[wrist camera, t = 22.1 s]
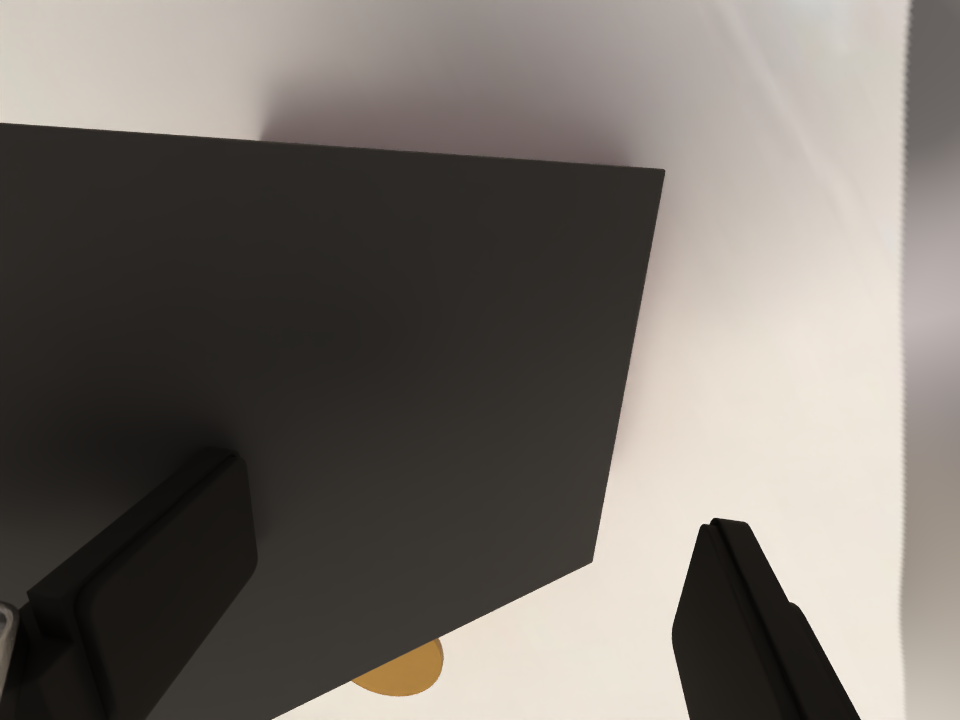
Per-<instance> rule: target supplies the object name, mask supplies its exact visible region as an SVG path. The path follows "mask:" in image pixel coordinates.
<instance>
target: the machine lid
mask: <svg viewBox="0 0 960 720" xmlns="http://www.w3.org/2000/svg"><path fill="white" fill-rule="evenodd" d="M664 177H665V170H664V169H657V168H643V167H629V166H614V165H600V164H586V163H571V162H557V161H542V160H528V159H514V158H499V157H485V156H471V155H456V154H442V153H428V152H413V151H399V150H384V149H370V148H356V147H341V146H327V145H313V144H298V143H284V142H270V141H255V140H241V139H226V138H212V137H198V136H183V135H169V134H155V133H140V132H126V131H112V130H97V129H83V128H68V127H54V126H40V125H25V124H11V123H0V601H4V602H7V603H10V604H13V605H14V606H15V607H16V608H17V609H18V610H19V609H20V608H21V607H22V606H23V605H25V604H26V603H27V602H28V601H29V599H28V596H27V593H26V592H27V591H28V590H29V589H31V588H32V587H33V586H34V585H36V584H37V583H38V582H39V581H41V580H42V579H43V578H44V577H46V576H47V575H48V574H49V573H50V572H52V571H53V570H54V569H55V568H57V567H58V566H59V565H60V564H62V563H63V562H64V561H65V560H67V559H68V558H69V557H70V556H72V555H73V554H74V553H75V552H77V551H78V550H79V549H80V548H81V547H83V546H84V545H85V544H86V543H88V542H89V541H90V540H91V539H93V538H94V537H95V536H96V535H98V534H99V533H100V532H101V531H103V530H104V529H105V528H106V527H108V526H109V525H110V524H111V523H112V522H114V521H115V520H116V519H117V518H119V517H120V516H121V515H122V514H124V513H125V512H126V511H127V510H129V509H130V508H131V507H132V506H134V505H135V504H136V503H137V502H139V501H140V500H141V499H142V498H143V497H145V496H146V495H147V494H148V493H150V492H151V491H152V490H153V489H155V488H156V487H157V486H158V485H160V484H161V483H162V482H163V481H165V480H166V479H167V478H168V477H170V476H171V475H172V474H173V473H174V472H176V471H177V470H178V469H179V468H181V467H182V466H183V465H184V464H186V463H187V462H188V461H189V460H191V459H192V458H193V457H194V456H196V455H197V454H198V453H199V452H201V451H202V450H203V449H205V448H207V447H216V448H223V449H230V450H235V451H237V452H238V453H239V455H240V458H243V459H244V460H245V461H246V465H247V473H248V481H249V489H250V497H251V505H252V513H253V521H254V529H255V537H256V545H257V553H258V562H257V566H256V569H255V571H254V573H253V575H252V577H251V578H250V579H249V581H248V582H247V583H246V585H245V586H244V587H243V589H242V590H241V591H240V593H239V594H238V595H237V597H236V598H235V599H234V601H233V602H232V604H231V605H230V606H229V608H228V609H227V610H226V612H225V613H224V614H223V616H222V617H221V618H220V620H219V621H218V622H217V624H216V625H215V626H214V628H213V629H212V630H211V632H210V633H209V634H208V636H207V637H206V639H205V640H204V641H203V643H202V644H201V645H200V647H199V648H198V649H197V651H196V652H195V653H194V655H193V656H192V657H191V659H190V660H189V661H188V663H187V664H186V665H185V667H184V668H183V669H182V671H181V672H180V673H179V675H178V676H177V678H176V679H175V680H174V682H173V683H172V684H171V686H170V687H169V688H168V690H167V691H166V692H165V694H164V695H163V696H162V698H161V699H160V700H159V702H158V703H157V704H156V706H155V707H154V708H153V710H152V711H151V713H150V714H149V715H148V717H147V718H146V719H145V720H272V719H274V718H276V717H278V716H280V715H282V714H284V713H286V712H288V711H290V710H292V709H294V708H296V707H298V706H300V705H302V704H304V703H306V702H308V701H310V700H312V699H315V698H317V697H319V696H321V695H323V694H325V693H327V692H329V691H331V690H333V689H335V688H337V687H339V686H341V685H343V684H345V683H347V682H349V681H351V680H353V679H355V678H357V677H359V676H361V675H363V674H366V673H368V672H370V671H372V670H374V669H376V668H378V667H380V666H382V665H384V664H386V663H388V662H390V661H392V660H394V659H396V658H398V657H400V656H402V655H404V654H406V653H408V652H410V651H412V650H414V649H416V648H419V647H421V646H423V645H425V644H427V643H429V642H431V641H433V640H435V639H437V638H439V637H441V636H443V635H445V634H447V633H449V632H451V631H453V630H455V629H457V628H459V627H461V626H463V625H465V624H467V623H470V622H472V621H474V620H476V619H478V618H480V617H482V616H484V615H486V614H488V613H490V612H492V611H494V610H496V609H498V608H500V607H502V606H504V605H506V604H508V603H510V602H512V601H514V600H516V599H518V598H520V597H523V596H525V595H527V594H529V593H531V592H533V591H535V590H537V589H539V588H541V587H543V586H545V585H547V584H549V583H551V582H553V581H555V580H557V579H559V578H561V577H563V576H565V575H567V574H569V573H571V572H574V571H576V570H578V569H580V568H582V567H584V566H586V565H588V564H590V563H592V561H593V556H594V551H595V546H596V540H597V535H598V530H599V524H600V519H601V514H602V508H603V503H604V497H605V492H606V487H607V481H608V476H609V471H610V465H611V460H612V455H613V449H614V444H615V439H616V433H617V428H618V423H619V417H620V412H621V407H622V401H623V396H624V391H625V385H626V380H627V374H628V369H629V364H630V358H631V353H632V348H633V342H634V337H635V332H636V326H637V321H638V316H639V310H640V305H641V300H642V294H643V289H644V284H645V278H646V273H647V267H648V262H649V257H650V251H651V246H652V241H653V235H654V230H655V225H656V219H657V214H658V209H659V203H660V198H661V193H662V187H663V182H664Z"/></svg>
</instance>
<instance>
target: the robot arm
mask: <svg viewBox="0 0 960 720" xmlns="http://www.w3.org/2000/svg"><path fill="white" fill-rule="evenodd" d="M257 562H258V553H257V545H256V537H255V529H254V521H253V513H252V505H251V497H250V489H249V481H248V473H247V465H246V461H245V460H244V459H243V458H240V455H239V453H238V452H237V451H235V450H230V449H223V448H216V447H207V448H205V449H203V450H202V451H201V452H199V453H198V454H197V455H196V456H194V457H193V458H192V459H191V460H189V461H188V462H187V463H186V464H184V465H183V466H182V467H181V468H179V469H178V470H177V471H176V472H174V473H173V474H172V475H171V476H170V477H168V478H167V479H166V480H165V481H163V482H162V483H161V484H160V485H158V486H157V487H156V488H155V489H153V490H152V491H151V492H150V493H148V494H147V495H146V496H145V497H143V498H142V499H141V500H140V501H139V502H137V503H136V504H135V505H134V506H132V507H131V508H130V509H129V510H127V511H126V512H125V513H124V514H122V515H121V516H120V517H119V518H117V519H116V520H115V521H114V522H112V523H111V524H110V525H109V526H108V527H106V528H105V529H104V530H103V531H101V532H100V533H99V534H98V535H96V536H95V537H94V538H93V539H91V540H90V541H89V542H88V543H86V544H85V545H84V546H83V547H81V548H80V549H79V550H78V551H77V552H75V553H74V554H73V555H72V556H70V557H69V558H68V559H67V560H65V561H64V562H63V563H62V564H60V565H59V566H58V567H57V568H55V569H54V570H53V571H52V572H50V573H49V574H48V575H47V576H46V577H44V578H43V579H42V580H41V581H39V582H38V583H37V584H36V585H34V586H33V587H32V588H31V589H29V590H28V591H27V592H26V593H27V596H28V599H29V601H28V602H27V603H26V604H25V605H23V606H22V607H21V608H20V609H19V610H18V609H17V608H16V607H15V606H14V605H13V604H10V603H7V602H4V601H0V720H145V719H146V718H147V717H148V715H149V714H150V713H151V711H152V710H153V708H154V707H155V706H156V704H157V703H158V702H159V700H160V699H161V698H162V696H163V695H164V694H165V692H166V691H167V690H168V688H169V687H170V686H171V684H172V683H173V682H174V680H175V679H176V678H177V676H178V675H179V673H180V672H181V671H182V669H183V668H184V667H185V665H186V664H187V663H188V661H189V660H190V659H191V657H192V656H193V655H194V653H195V652H196V651H197V649H198V648H199V647H200V645H201V644H202V643H203V641H204V640H205V639H206V637H207V636H208V634H209V633H210V632H211V630H212V629H213V628H214V626H215V625H216V624H217V622H218V621H219V620H220V618H221V617H222V616H223V614H224V613H225V612H226V610H227V609H228V608H229V606H230V605H231V604H232V602H233V601H234V599H235V598H236V597H237V595H238V594H239V593H240V591H241V590H242V589H243V587H244V586H245V585H246V583H247V582H248V581H249V579H250V578H251V577H252V575H253V573H254V571H255V569H256V566H257ZM672 644H673V650H674V654H675V658H676V662H677V667H678V671H679V675H680V680H681V684H682V688H683V692H684V697H685V701H686V705H687V710H688V714H689V718H690V720H861V719H860V717H859V715H858V714H857V712H856V710H855V708H854V706H853V704H852V702H851V701H850V699H849V697H848V695H847V693H846V691H845V689H844V688H843V686H842V684H841V682H840V680H839V678H838V676H837V675H836V673H835V671H834V669H833V667H832V665H831V664H830V662H829V660H828V658H827V656H826V654H825V652H824V651H823V649H822V647H821V645H820V643H819V641H818V639H817V638H816V636H815V634H814V632H813V630H812V628H811V626H810V625H809V623H808V621H807V619H806V617H805V615H804V614H803V612H802V611H801V610H800V608H799V607H798V606H797V605H795V604H794V603H791V602H789V601H788V599H787V597H786V595H785V593H784V591H783V589H782V587H781V585H780V583H779V582H778V580H777V578H776V576H775V574H774V572H773V570H772V568H771V566H770V564H769V562H768V560H767V559H766V557H765V555H764V553H763V551H762V549H761V547H760V545H759V543H758V541H757V539H756V537H755V536H754V534H753V532H752V530H751V528H750V526H749V525H748V524H747V523H746V522H741V521H734V520H727V519H720V518H713V519H712V521H711V522H710V525H707V524H702V525H701V527H700V529H699V533H698V536H697V540H696V543H695V547H694V551H693V554H692V558H691V561H690V565H689V569H688V572H687V576H686V579H685V583H684V587H683V590H682V594H681V597H680V601H679V605H678V608H677V612H676V615H675V619H674V623H673V627H672Z"/></svg>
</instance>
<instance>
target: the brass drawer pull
mask: <svg viewBox="0 0 960 720" xmlns="http://www.w3.org/2000/svg"><path fill="white" fill-rule="evenodd" d="M443 660H444V656H443V649H442V645H441V643H440V640H439V639H438V638H437V639H435V640H433V641H431V642H429V643H427V644H425V645H423V646H421V647H419V648H416V649H414V650H412V651H410V652H408V653H406V654H404V655H402V656H400V657H398V658H396V659H394V660H392V661H390V662H388V663H386V664H384V665H382V666H380V667H378V668H376V669H374V670H372V671H370V672H368V673H366V674H363V675H361V676H359V677H357V678H355V679H353V680H351V681H352V682H354V683H355V684H357V685H359V686H361V687H363V688H365V689H367V690H369V691H372V692H375V693H378V694H382V695H388V696H409V695H414V694H418V693H420V692H423V691H425V690H426V689H428V688H429V687H431V686H432V685H433V684H434V683H435V682H436V680H437V679H438V677H439V675H440V673H441V670H442V666H443Z"/></svg>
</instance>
